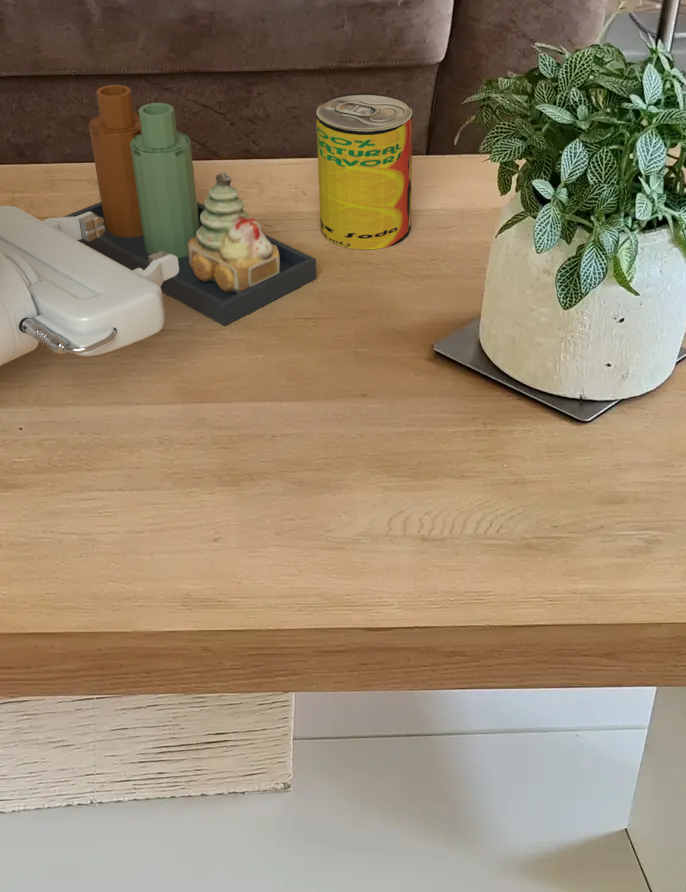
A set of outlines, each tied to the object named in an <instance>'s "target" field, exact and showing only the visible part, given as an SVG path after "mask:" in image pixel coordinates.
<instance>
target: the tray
mask: <svg viewBox="0 0 686 892" xmlns="http://www.w3.org/2000/svg"><path fill="white" fill-rule="evenodd" d="M197 207H198V217H199V226H200V227H201V226H202V223H201V220H200V215H201V213H202V212H203V211H204V210H205V209H206V208H205V206H204V203H200V202H198V201H197ZM89 211H90V212H93V213H94V214H96V215H98V216H100V217H102V218H103V219H104V216H103V210H102V204H101V201H100V202H97V203H94V204H91V205H89V206H87V207H84V208H82V209H80V210H77V211H73V212H71V213H69V214H67V215H64V216H63V217H76V216H78V215H81V214H84V213H86V212H89ZM104 226H105V222H104ZM264 235H265V236H266V238H267V239H268V240H269V242H270V243H271V244H274V245H276V246H277V248H278V251H279V255H280V273H279V274H277V275H275V276H273V277H271V278H269V279H267V280H265V281H263V282H261V283H259V284H257V285H255V286H253V287H251V288H249V289H247V290H245V291H243V292H241V293H239V294H238V293H236V292H229V293H228V292H224V291H223V290H221V289H220V288H219V286H218V284H217V282H215V281H208V282H203V281H201V280H199V279H197V277H196V276H195V274H194V272H193V269H192V268H191V267H190V265H189V258H188V256H186V257H181V258H178V264H179V272H178V274H177V275H176V276H174V277H172V278H170V279H168V280H165V281H163V284H162V285H161V287H160V288H161V290H162V293H164V294H165V295H167V296H170V297H171V298H173V299H174V300H176V301H178V302H180V303H182V304H183V305H186V306H188V307H189V308H191V309H193V310H195V311H197V312H198V313H200V314H202V315H204V316H206V317H208V319H209V318H210V319H211V320H213V321H214V322H217V323H218V324H220V325H222V326H224V327H227V326H228V325H230V324H232V323H234V322H237V321H238V320H239V319H242V318H244V317H246V316H247V315H249V314H251V313H253V312H256V311H258V310H259V309H261V308H264V307H265V306H267V305H268V304H271V303H272V302H274V301H276V300H278V299H281V298H282V297H284V296H286V295H288V294H290V293H292V292H294V291H296V290H298V289H300V288H302V287H304V286H305V285H307V284H309V283H310V282H313V281H315V280H317V259H316V258H315V257H313V256H311V255H308V254H307V253H304V252H302V251H300V250H299V249H297V248H294V247H292V246H290V245H288V244H285V243H284V242H281V241H280V240H278V239H275V238H273V237H271V236H269V235H267V234H265V233H264ZM78 241H79V242H81V243H83V244H85V245H87V246H88V247H90V248H92V249H94V250H96V251H98V252H99V253H101V254H103V255H105V256H107V257H109V258H110V259H112V260H114V261H116V262H118V263H119V264H121V265H123V266H125V267H127V268H129V269H130V270H135V269H137V268H141V269H143V270H145V269H146V268H147V267H148V266H149V265H150V264H149V260H148V256H149V255H151V254H149V253H147V251H146V249H145V246H144V239H143V236H139V237H120V236H115V235H113V234H111V233H109V232H108V231H107V229H106V228H105V234H104V235H103V236H101V237H97V238H96V239H94V240H92V241H89V242H88V241H86V240H84V239H80V240H78Z"/></svg>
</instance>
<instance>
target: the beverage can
mask: <svg viewBox="0 0 686 892" xmlns="http://www.w3.org/2000/svg"><path fill="white" fill-rule="evenodd" d="M315 109H316V112H315V113H316V116H315V117H316V118H315V119H316V143H317V171H318V173H317V174H318V195H319V197H318V198H319V226H320V232H321V234H322V236H323V238H325V239H326V240H327V241H328V242H329V243H333V244H335V245H337V246H340V247H343V248H347V249H353V250H378V249H385V248H388V247H389V248H390V247H392V246H396V245H397V244H399V243H401V242H403V241H404V240H405V239H406V238H407V237H408V236H409V234H410V233H411V228H412V181H413V180H412V176H413V175H412V174H413V173H412V171H413V170H412V169H413V123H414V122H413V116H414V115H413V108H411V106H410V105H409V104H408V103H407V102H405V101H403V100H401V99H400V98H396V97H394V96H389V95H385V94H379V93H372V92H371V93H370V92H368V93H367V92H366V93H365V92H357V93H345V94H341V95H337V96H333V97H331V98H327V99H326V100H324V101H322V102H321V103H319V104H318V106H317V107H316V108H315Z"/></svg>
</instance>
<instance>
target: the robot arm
mask: <svg viewBox="0 0 686 892" xmlns="http://www.w3.org/2000/svg"><path fill="white" fill-rule="evenodd" d="M104 234H105V226H104V219H103V218H102V217H100V216H98V215H96V214H94V213H93V212H90V211H89V212H86V213H84V214H81V215H78V216H76V217H64V216H59V217H48V218H45V219H42V220H41V219H39V218H37V217H36V216H34V215H32V214H30V213H29V212H26V211H25V210H23V209H21V208H19V207H17V206H15V205H0V367H1V366H3V365H5V364H7V363H10V362H11V361H14V360H15V359H19V358H20V357H22V356H24V355H27V354H28V353H31V352H32V351H34V350H35V349H36V348H37V347H38V346H39V344H40V342H41V343H43V344H45V345H46V346H47V347H48V348H49V349H50V350H51V351H54V352H55V353H57V354H62V355H63V354H66V353H70V354H71V353H72V354H76V355H79V356H82V357H93V356H98V355H103V354H107V353H109V352H112V351H115V350H119V349H122V348H124V347H127V346H129V345H131V344H135V343H137V342H139V341H142V340H144V339H146V338H149V337H151V336H154V335H156V334H158V333H159V332H161V330H162V329H163V327H164V324H165V322H166V310H165V300H164V295H163V292H162V290H161V288H160V287H161V285H162V284H163V281H165V280H168V279H170V278H172V277H174V276H176V275H177V274H178V272H179V264H178V258H177V257H176V256H175V255H173V254H171V253H169V252H167V251H165V250H161V251H159V252H158V253H154V254H151V255H149V256H148V260H149V264H150V265H149V266H148V267H147V268H146V269H145V270H143V269H141V268H137V269H135V270H130V269H129V268H127V267H125V266H123V265H121V264H119V263H118V262H116V261H114V260H112V259H110V258H109V257H107V256H105V255H103V254H101V253H99V252H98V251H96V250H94V249H92V248H90V247H88V246H87V245H85V244H83V243H81V242H79V241H78V240H80V239H84V240H86V241H88V242H89V241H92V240H94V239H96V238H97V237H101V236H103V235H104Z"/></svg>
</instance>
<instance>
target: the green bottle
mask: <svg viewBox="0 0 686 892" xmlns="http://www.w3.org/2000/svg"><path fill="white" fill-rule="evenodd" d="M137 111H138V114H139V118H140V126H141V133H142V134H139V135H137V136H135V137H134V138H133V139H132V140H131V143H130V147H131V155H132V162H133V169H134V176H135V183H136V190H137V197H138V204H139V211H140V218H141V225H142V232H143V239H144V246H145V249H146V251H147V253H149V254H154V253H158V252H159V251H161V250H165V251H167V252H169V253H171V254H173V255H175V256H176V257H177V258H181V257H186V256H188V241H189V240H190V239H191V238H193V237H196V232H197V230H198V229H199V228H200V226H199V217H198V207H197V202H198V199H197V191H196V181H195V172H194V171H195V170H194V164H193V163H194V162H193V152H192V145H191V143H192V142H191V139H190V137H189V136H188V135H187V134H186V133H184V132H181V131H177V130H178V129H177V123H176V121H177V120H176V114H175V113H176V112H175V109H174V106H173V105H171V104H169V103H166V102H151V103H147V104H144V105H142V106H140V107H139V109H137Z"/></svg>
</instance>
